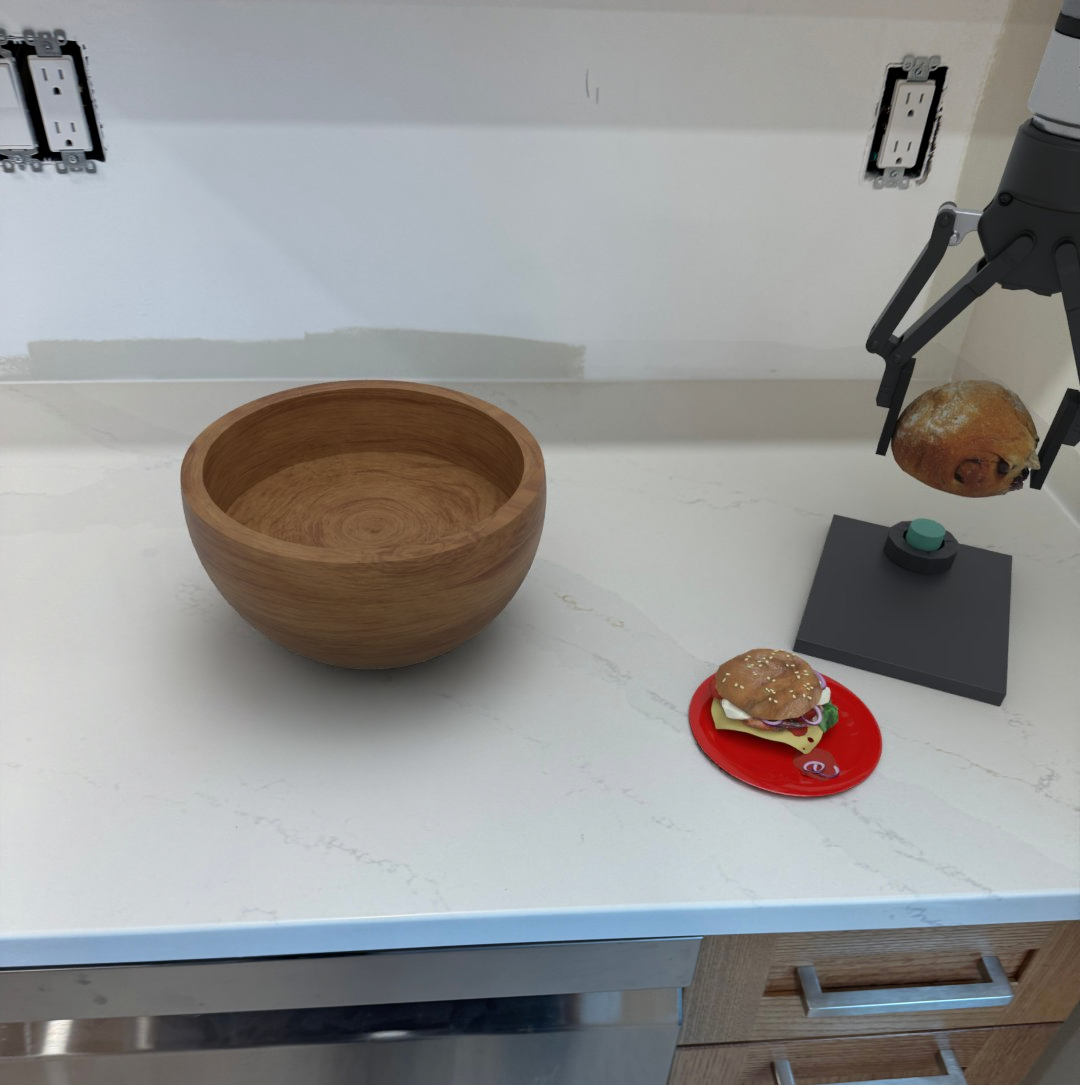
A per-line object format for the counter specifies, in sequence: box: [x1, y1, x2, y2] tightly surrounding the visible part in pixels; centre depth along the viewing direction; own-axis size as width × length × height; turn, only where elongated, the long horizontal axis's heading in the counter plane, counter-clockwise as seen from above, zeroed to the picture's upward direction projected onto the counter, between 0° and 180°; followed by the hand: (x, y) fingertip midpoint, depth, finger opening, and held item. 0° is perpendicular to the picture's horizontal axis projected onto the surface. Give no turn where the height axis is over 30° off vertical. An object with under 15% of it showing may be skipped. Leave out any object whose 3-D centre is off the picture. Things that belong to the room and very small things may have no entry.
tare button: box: [905, 517, 947, 551], centre depth 84 cm, size 3×3×2 cm
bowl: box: [179, 379, 548, 670], centre depth 71 cm, size 25×25×15 cm
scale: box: [791, 513, 1013, 707], centre depth 80 cm, size 16×20×3 cm
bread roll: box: [890, 379, 1040, 499], centre depth 71 cm, size 10×10×8 cm
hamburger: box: [688, 646, 883, 797], centre depth 68 cm, size 14×14×6 cm
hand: (957, 463), depth 72 cm, fingers closed on bread roll, 10 cm apart
